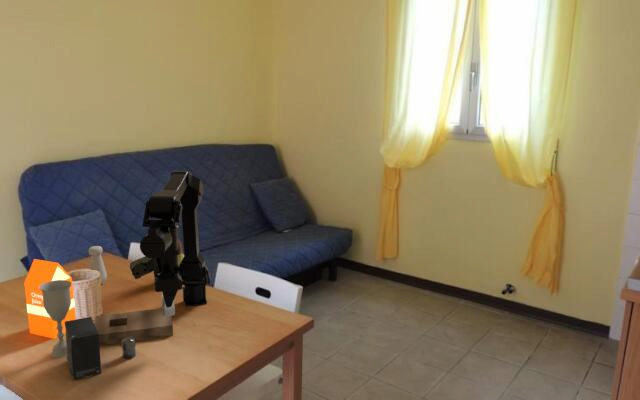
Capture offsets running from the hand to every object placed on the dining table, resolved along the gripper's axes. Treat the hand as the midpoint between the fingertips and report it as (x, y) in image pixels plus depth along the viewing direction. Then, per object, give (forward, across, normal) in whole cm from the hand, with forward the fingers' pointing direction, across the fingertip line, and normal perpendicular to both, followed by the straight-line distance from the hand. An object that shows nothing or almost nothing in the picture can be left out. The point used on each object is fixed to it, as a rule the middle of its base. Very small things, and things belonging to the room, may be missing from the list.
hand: (168, 304), depth 127 cm
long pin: (+2, 0, 0) cm, 2 cm away
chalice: (+12, -6, -26) cm, 29 cm away
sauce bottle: (+12, -48, +4) cm, 50 cm away
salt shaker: (+12, -53, -21) cm, 58 cm away
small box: (+12, +3, -20) cm, 24 cm away
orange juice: (+12, -20, -30) cm, 38 cm away
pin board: (+12, -13, -9) cm, 20 cm away
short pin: (+12, +1, -10) cm, 16 cm away
